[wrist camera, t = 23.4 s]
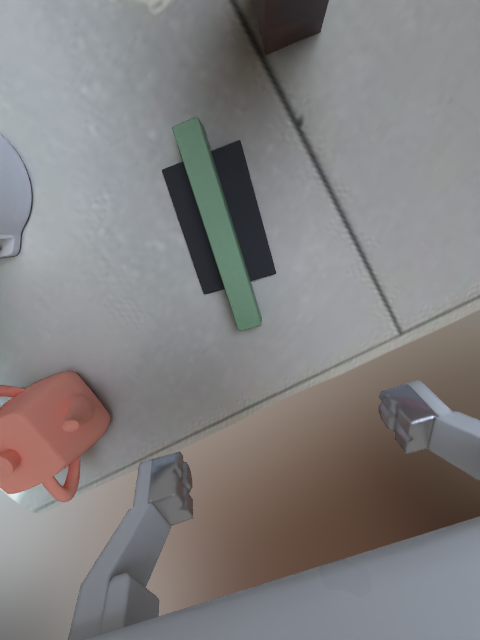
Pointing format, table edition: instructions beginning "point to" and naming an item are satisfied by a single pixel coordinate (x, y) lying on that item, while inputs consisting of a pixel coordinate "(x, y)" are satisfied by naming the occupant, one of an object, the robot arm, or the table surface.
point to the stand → (288, 21)
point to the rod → (217, 221)
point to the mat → (241, 212)
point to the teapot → (48, 433)
